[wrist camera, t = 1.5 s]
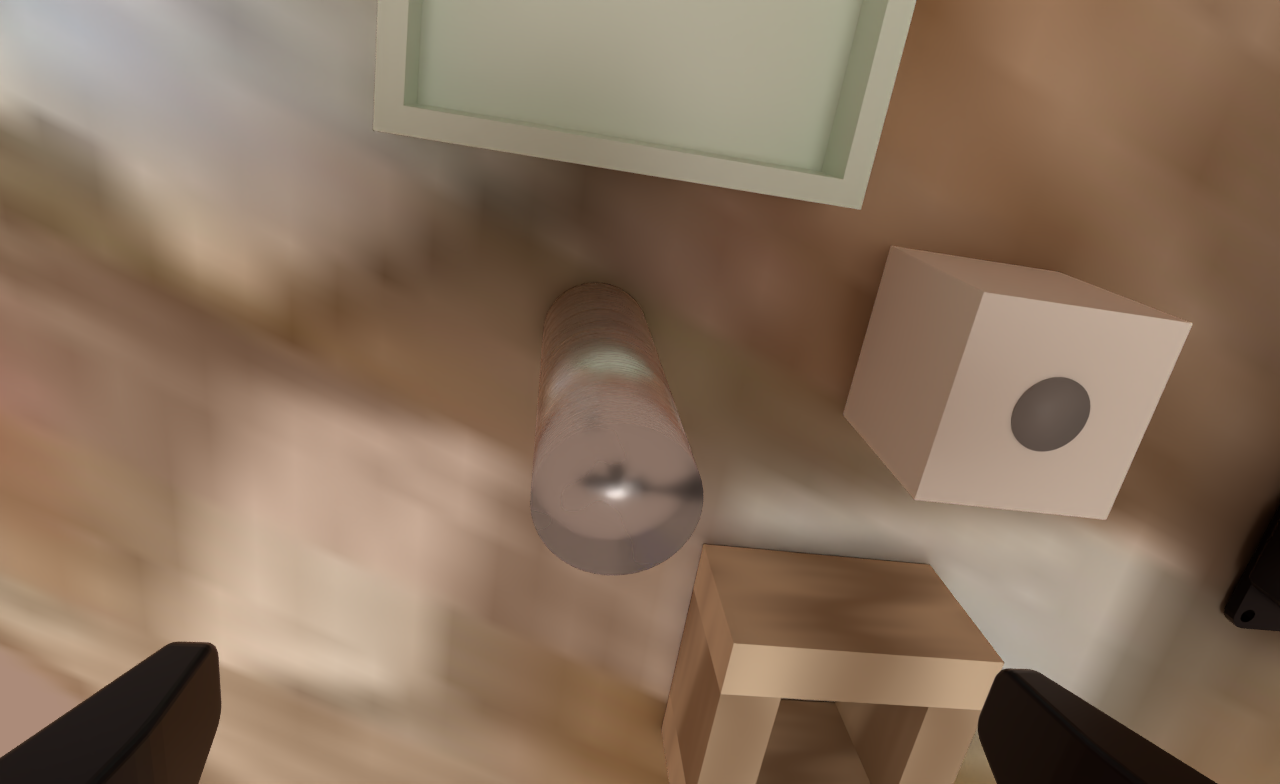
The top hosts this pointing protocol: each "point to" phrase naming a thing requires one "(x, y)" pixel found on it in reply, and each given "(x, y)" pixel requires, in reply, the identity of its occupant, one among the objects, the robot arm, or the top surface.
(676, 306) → the top surface
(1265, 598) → the robot arm
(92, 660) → the top surface
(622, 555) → the pin
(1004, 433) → the cream block
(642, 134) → the tray
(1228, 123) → the top surface
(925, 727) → the wooden square frame
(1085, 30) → the top surface
